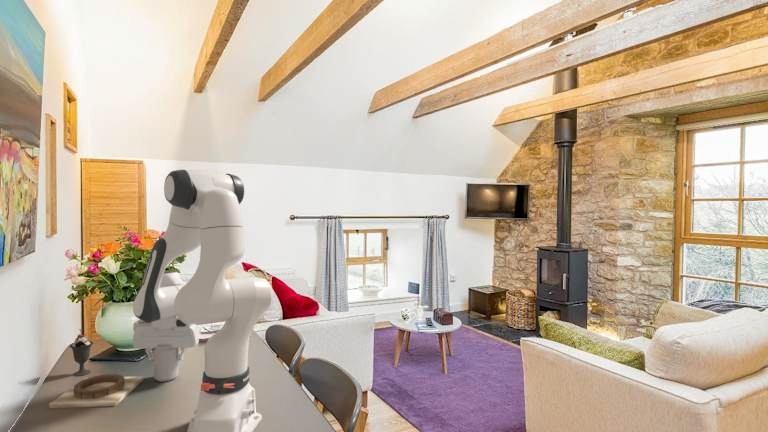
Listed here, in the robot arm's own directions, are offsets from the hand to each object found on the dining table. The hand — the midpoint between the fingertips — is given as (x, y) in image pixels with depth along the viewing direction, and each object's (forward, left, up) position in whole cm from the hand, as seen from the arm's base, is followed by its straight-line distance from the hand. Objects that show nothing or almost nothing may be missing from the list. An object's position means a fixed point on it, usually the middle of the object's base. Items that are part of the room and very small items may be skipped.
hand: (166, 360), depth 146 cm
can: (0, 0, -6) cm, 6 cm away
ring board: (-10, +16, -6) cm, 20 cm away
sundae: (+6, +30, -6) cm, 31 cm away
